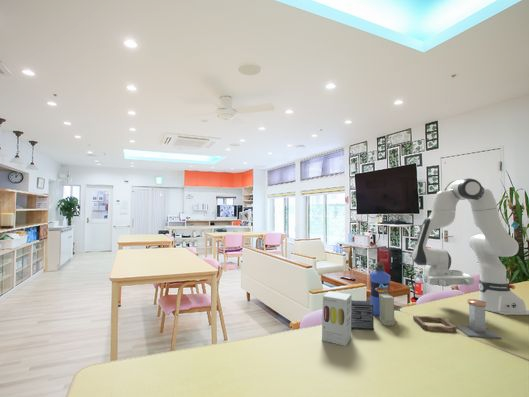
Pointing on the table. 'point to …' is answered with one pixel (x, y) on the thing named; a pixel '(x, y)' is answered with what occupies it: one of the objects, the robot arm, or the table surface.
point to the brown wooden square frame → (446, 328)
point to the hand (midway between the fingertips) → (457, 283)
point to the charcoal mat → (472, 334)
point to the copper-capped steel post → (477, 315)
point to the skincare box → (386, 309)
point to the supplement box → (336, 318)
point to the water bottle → (378, 286)
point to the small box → (362, 315)
